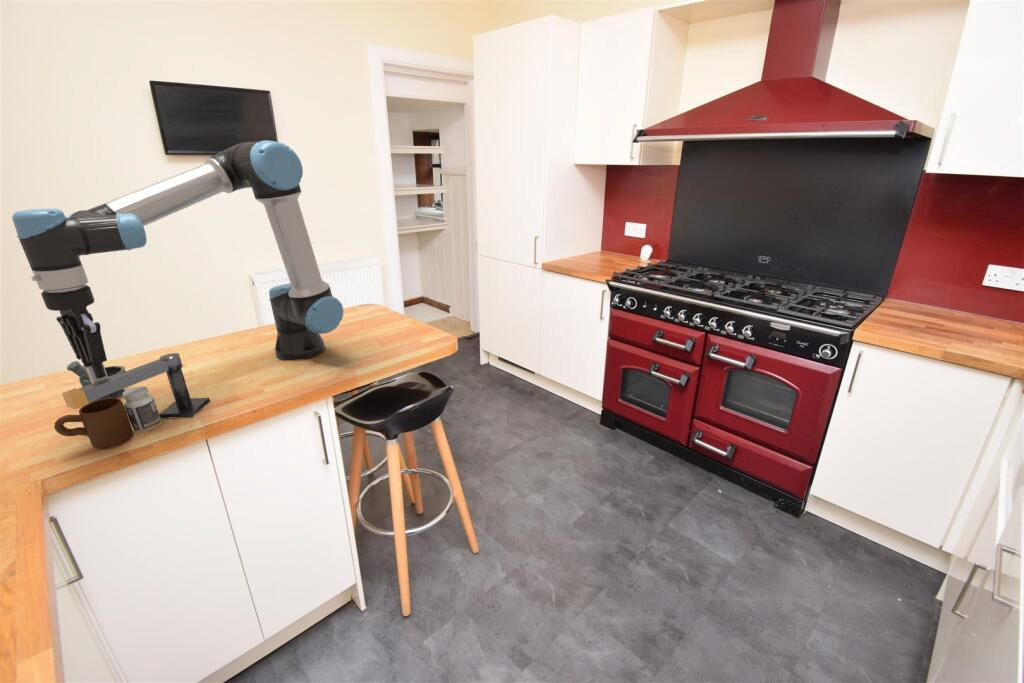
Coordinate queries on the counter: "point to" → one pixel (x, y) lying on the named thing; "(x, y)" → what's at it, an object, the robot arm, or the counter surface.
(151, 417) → the pill bottle
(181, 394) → the post
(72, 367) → the mortar and pestle
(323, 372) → the counter surface
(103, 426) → the mug
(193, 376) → the counter surface
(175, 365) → the bar
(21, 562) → the counter surface
